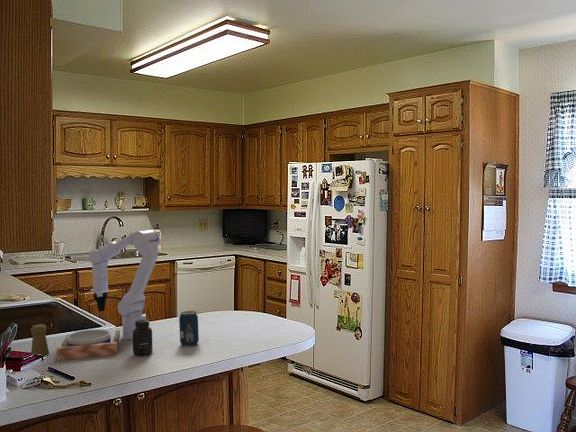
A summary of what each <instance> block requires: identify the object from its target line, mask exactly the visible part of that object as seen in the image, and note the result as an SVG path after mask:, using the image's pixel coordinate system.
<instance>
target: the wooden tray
mask: <svg viewBox="0 0 576 432" xmlns="http://www.w3.org/2000/svg"><path fill="white" fill-rule="evenodd" d="M68 335H69V334H66V336H65V338H64V340H63V343H61V345H60V346H58V347H57V348H56V361H60V360H61V361H62V360H74V359H81V358H93V357H103V356H104V357H105V356H113V355H118V351H119V343H120V336H121V331H120V329H118V330H115V334H114V339H113V341H111V342H109V343H99V344H88V345H77V346H67V336H68Z"/></svg>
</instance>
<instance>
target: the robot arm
mask: <svg viewBox="0 0 576 432" xmlns="http://www.w3.org/2000/svg"><path fill="white" fill-rule="evenodd" d="M160 242H161V239H160V236H159V233H158V231H157V230H155V229H149V230H148V229H147V230H137V231H135V232H132V233H131V232H130V234H128V235H126V236H125V237H123V238H121V239H120V240H118V241H117V242H116V241H112V240H110V241H107V243H106V244H105V245H101V246H99V247H98V249H92V250H90V251H89V253H88V260H89V262H90V263H91V265H92V267H91V268H92V285H93V287H92V288H90V290H89V291H90V292H94V294H93V295H92V296H93V298H94V300H95V302H96V305H97V309H98V312H104V311H105V309H106V303H107V298H108V296H109V292H108V291H109V282H108V281H109V280H108V277H109V276H108V265H109V262H110V260H111V259H112V258H114V257H116V256H118V255H120V253H121V250H123V249H125V248H127V247H130V246H134V248H135V249H136V251H137V252H138V253H139V255H140V256H141V260H140V262H139V265H138V267H137V270H136V272H135V275H134V278H133V279H132V280H133V281H132V283H131V285H130V287H129V290H128V292H126V294H124V295H123V296H122V299H121V300H120V301H119V302H118V304H117V312H118V313H119V315H120V316H121V318H122V319H121V321H122V334H121V340H122V341H123V340H133V330H134V329H135V328H136V327H135V321H137V320H147V315H146V313H143V310H144V309H145V302H146V301H145V300H146V296H145V295H144V293H145V290H146V288H147V285H148V283H149V280H150V278H151V274H153V273H152V272H153V270H154V268H155V264H156V262H157V261H158V255H159V244H160Z"/></svg>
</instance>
